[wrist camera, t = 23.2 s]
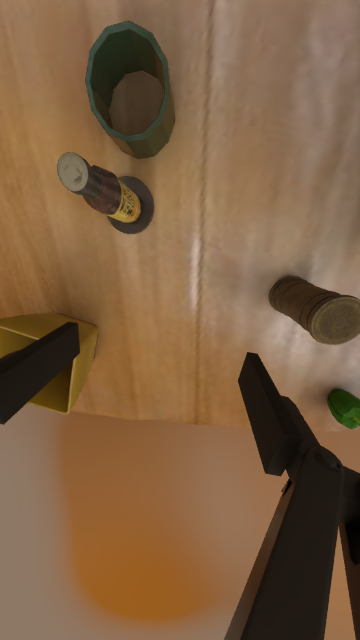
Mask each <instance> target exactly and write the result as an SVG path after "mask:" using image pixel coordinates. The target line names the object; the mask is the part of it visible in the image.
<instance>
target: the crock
mask: <svg viewBox="0 0 360 640" xmlns="http://www.w3.org/2000/svg"><path fill="white" fill-rule="evenodd" d="M140 70H143V71H145V72H147V73H149V74H151V75H153V76H154V77H156V78H158V79H159V81H160V83H161V84H162V86H163V88H164V90H165V95H164V98H163V102H162V105H161V109H160V112H159V116H158V118H157V119H156V120H155V121H154V122H153V123H152V124H151V125H150V127H149V128H148V129H147V130H146V131H145V132H144V133H139V134H134V135H129V136H125V135H123V134H121V133H119V132H117V131H115V130H113V128H112V122H111V117H110V112H109V109H110V104H111V99H112V94H113V89H114V88H115V87H116V86H117V84H118V83H119V82H120V80H121V79H122V78H123V77H124V75H125V74H128V73H132V72H136V71H140ZM85 82H86V87H87V92H88V96H89V101H90V106H91V110H92V112H93V114H94V115H95V116H96V118H97V119H98V121H99V122H100V124H101V125H102V127H103V128H104V130H105V131H106V132H107V134H108V135H109V136H110V137H111V139H112V140H113V141H114V142H115V144H116V145H117V146H118V147H119V148H120V150H121V151H122V152H124V153H126V154H128V155H130V156H132V157H134V158H136V159H142V158H147V157H153V156H155V155H156V154H157V153H158V152H159V151H160V150H161V149H162V148H163V147H164V146H165V145H166V144H167V143H168V142H169V138H170V135H171V132H172V129H173V126H174V122H175V112H174V101H173V93H172V86H171V80H170V74H169V68H168V62H167V59H166V57H165V55H164V54H163V52H162V50H161V48H160V46H159V44H158V43H157V41H156V39H155V37H154V35H153V34H152V33H151V32H149V31H147V30H146V29H144V28H142V27H140V26H138V25H137V24H135V23H133V22H131V21H125V22H122V23H118V24H115V25H111V26H108V27H106V28H105V29H104V31H103V32H102V33H101V35H100V36H99V38H98V39H97V40H96V42H95V43H94V45H93V46H92V48H91V49H90V53H89V59H88V66H87V72H86V79H85Z"/></svg>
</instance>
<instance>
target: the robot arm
mask: <svg viewBox="0 0 360 640" xmlns="http://www.w3.org/2000/svg"><path fill="white" fill-rule="evenodd" d="M79 354H80V342H79V328H78V323H75V322H69V321H68V322H67V323H65V324H63V325H62V326H60V327H58V328H57V329H55V330H53V331H52V332H50V333H48V334H47V335H45V336H43V337H42V338H40V339H38V340H37V341H35V342H33V343H32V344H30V345H28V346H27V347H25V348H23V349H22V350H17V351H15V352H12V353H9V354H7V355H5V356H3V357H2V358H0V424H5V423H6V422H7V421H8V420H9V419H10V418H11V417H12V416H13V415H15V413H17V412H18V411H19V410H20V409H21V408H22V407H23V406H24V405H25V404H26V403H27V402H28V401H30V400H31V399H32V398H33V397H34V396H35V395H36V394H37V393H38V392H39V391H40V390H41V389H42V388H43V387H45V386H46V385H47V384H48V383H49V382H50V381H51V380H52V379H53V378H54V377H55V376H56V375H57V374H59V373H60V372H61V371H62V370H63V369H64V368H65V367H66V366H67V365H68V364H69V363H70V362H71V361H72V360H74V359H75V358H76V357H77V356H78V355H79ZM238 383H239V387H240V390H241V393H242V397H243V400H244V404H245V407H246V410H247V414H248V417H249V420H250V424H251V427H252V431H253V434H254V437H255V441H256V444H257V447H258V451H259V454H260V458H261V461H262V464H263V468H264V471H265V473H266V474H271V475H277V476H281V475H282V474H283V472H284V470H285V469H286V471H287V473H288V476H289V479H288V481H287V483H286V484H285V486H284V488H283V489H282V491H281V492H283V493H282V496H281V498H280V501H279V503H278V506H277V508H276V511H275V513H274V516H273V518H272V521H271V523H270V526H269V528H268V531H267V533H266V536H265V538H264V541H263V543H262V546H261V548H260V551H259V553H258V556H257V559H256V561H255V563H254V566H253V568H252V571H251V573H250V576H249V578H248V581H247V583H246V586H245V589H244V591H243V594H242V596H241V598H240V601H239V603H238V606H237V609H236V611H235V613H234V616H233V618H232V621H231V623H230V626H229V628H228V631H227V633H226V636H225V638H224V640H324V634H325V626H326V618H327V611H328V603H329V594H330V587H331V579H332V571H333V564H334V555H335V548H336V540H337V533H338V532H337V531H338V525H339V531H340V537H341V544H342V551H343V557H344V564H345V570H346V576H347V584H348V590H349V597H350V604H351V610H352V616H353V624H354V630H355V637H356V640H360V473H358V472H356V471H354V470H351V469H349V468H347V467H345V466H343V465H342V463H341V462H340V460H339V459H338V458H337V457H336V456H335V455H334V454H333V453H332V452H330V451H329V450H328V449H326V448H324V447H322V446H320V444H319V442H318V441H317V439H316V437H315V436H314V434H313V433H312V431H311V429H310V428H309V426H308V424H307V423H306V421H305V420H304V418H303V416H302V415H301V414H300V411H299V410H298V408H297V406H296V405H295V404H294V403H293V402H292V401H291V400H290V399H289V398H288V397H285V396H280V394H279V392H278V390H277V388H276V387H275V385H274V383H273V381H272V379H271V377H270V376H269V374H268V372H267V370H266V368H265V367H264V365H263V363H262V361H261V359H260V357H259V356H258V354H256V353H250V352H247V355H246V358H245V361H244V364H243V367H242V370H241V373H240V376H239V379H238Z"/></svg>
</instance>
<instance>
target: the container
mask: <svg viewBox="0 0 360 640" xmlns="http://www.w3.org/2000/svg"><path fill="white" fill-rule="evenodd" d="M269 301H270V304H271V306H272V307H273V308H274V309H275V310H277V311H279V312H281V313H283V314H285V315H287V316H289V317H290V318H292V319H293V320H294V321H296V322H297V323H298V324H299V325H301V326H302V327H303V328H304V329H305V330H307V331H308V332H309V333H310V335H311V336H312V337H313V338H314V339H315V340H316V341H318V342H320V343H323V344H328V345H337V344H342V343H345V342H348V341H350V340H352V339H353V338H355V337H356V336H357V335H359V334H360V300H359V299H358V298H356V297H353V296H349V295H340V294H339V293H336V292H332V291H328V290H325V289H322V288H320V287H317V286H314V285H313V284H311V283H309V282H307V281H306V280H304V279H302V278H300V277H287V278H284V279H282V280H280V281H278V282H277V283H276V284H275V285H274V286H273V288H272V289H271V291H270V294H269Z"/></svg>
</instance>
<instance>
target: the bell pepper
mask: <svg viewBox="0 0 360 640" xmlns="http://www.w3.org/2000/svg"><path fill="white" fill-rule="evenodd" d="M329 397H330V398H328V401H327V404H328V406H329V409H330V411H331V413H332V415H333V416H334V417H335V419H336V420H337V421H338V422H339V423H341V424H342V425H344V426H346V427H348V428H350V429H353V428H356V427H357V426H358V425H359V426H360V399H358V398H357V397H355V396H354V395H352V394H350V393H349V392H346V391H343V390H336V391H334V392H332V393H331V394H330V395H329Z"/></svg>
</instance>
